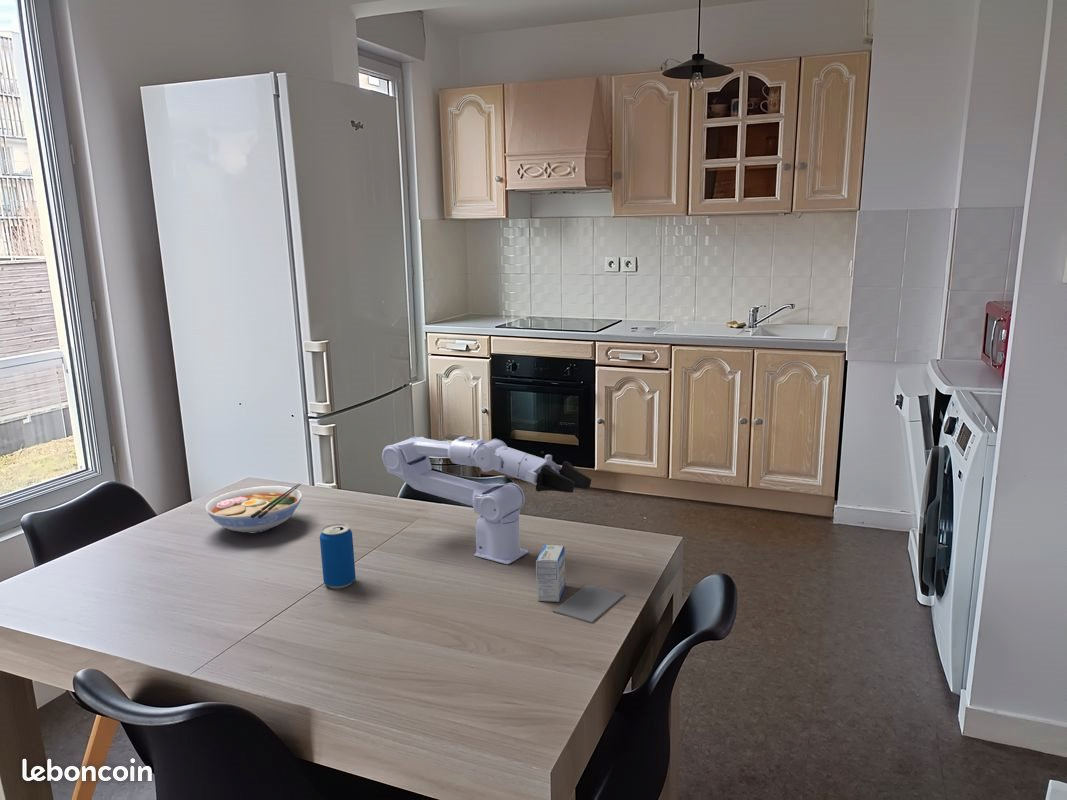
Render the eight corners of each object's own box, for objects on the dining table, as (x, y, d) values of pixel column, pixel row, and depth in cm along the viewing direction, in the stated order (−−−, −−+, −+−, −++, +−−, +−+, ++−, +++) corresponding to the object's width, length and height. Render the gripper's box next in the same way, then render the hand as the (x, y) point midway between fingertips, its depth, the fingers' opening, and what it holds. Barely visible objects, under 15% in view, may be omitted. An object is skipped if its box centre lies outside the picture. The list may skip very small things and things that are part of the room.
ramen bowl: (240, 509, 205) (236, 480, 203) (321, 511, 202) (318, 482, 200) (186, 546, 181) (182, 513, 179) (277, 549, 177) (274, 516, 176)
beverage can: (362, 579, 161) (358, 525, 158) (342, 592, 155) (337, 536, 152) (337, 574, 163) (333, 521, 161) (317, 587, 158) (312, 532, 155)
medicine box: (559, 603, 148) (558, 561, 146) (536, 601, 149) (535, 559, 147) (565, 585, 156) (565, 545, 154) (544, 583, 157) (543, 543, 155)
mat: (553, 611, 145) (552, 610, 145) (587, 585, 155) (587, 584, 155) (591, 623, 140) (591, 621, 140) (624, 595, 150) (624, 593, 150)
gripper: (512, 450, 156) (570, 469, 150) (546, 447, 169) (600, 464, 162) (505, 483, 157) (562, 504, 151) (539, 477, 170) (593, 496, 163)
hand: (581, 485), depth 157 cm, fingers open, 7 cm apart
